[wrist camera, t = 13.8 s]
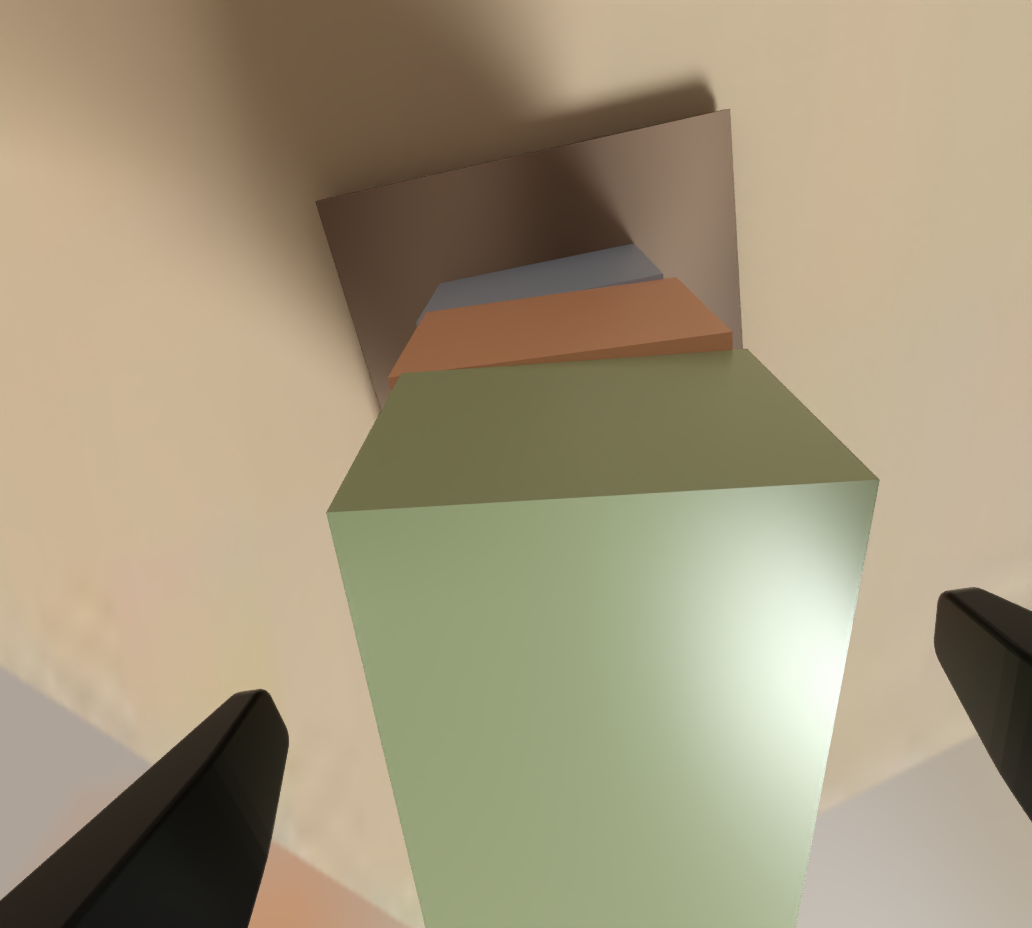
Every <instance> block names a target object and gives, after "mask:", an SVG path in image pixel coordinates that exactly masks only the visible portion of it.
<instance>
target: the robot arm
mask: <svg viewBox="0 0 1032 928" xmlns="http://www.w3.org/2000/svg"><path fill="white" fill-rule="evenodd" d="M934 647H935V652H936V655H937V658H938V660H939V662H940V664H941V666H942V668H943V670H944V671H945V673H946V675H947V677H948V679H949V681H950V683H951V685H952V686H953V688H954V690H955V692H956V694H957V696H958V698H959V700H960V701H961V703H962V705H963V707H964V709H965V711H966V713H967V714H968V716H969V718H970V720H971V722H972V724H973V726H974V728H975V729H976V731H977V733H978V735H979V737H980V739H981V741H982V743H983V744H984V746H985V748H986V750H987V752H988V754H989V756H990V757H991V759H992V761H993V762H994V764H995V766H996V768H997V770H998V771H999V773H1000V775H1001V776H1002V778H1003V779H1004V781H1005V782H1006V784H1007V786H1008V787H1009V789H1010V790H1011V792H1012V793H1013V795H1014V796H1015V798H1016V799H1017V801H1018V802H1019V804H1020V805H1021V807H1022V808H1023V810H1024V811H1025V813H1026V814H1027V815H1028V817H1029V819H1030V820H1031V821H1032V611H1030V610H1028V609H1026V608H1024V607H1021V606H1019V605H1017V604H1015V603H1012V602H1010V601H1008V600H1006V599H1003V598H1001V597H999V596H997V595H994V594H992V593H990V592H988V591H986V590H983V589H980V588H976V587H970V588H963V589H956V590H949V591H945V592H943V593H942V594H941V595H940V596H939V598H938V603H937V613H936V623H935V634H934ZM288 747H289V735H288V731H287V728H286V725H285V723H284V721H283V719H282V717H281V715H280V713H279V711H278V709H277V707H276V705H275V703H274V701H273V699H272V697H271V695H270V694H269V693H268V692H267V691H266V690H263V689H256V690H249V691H242V692H238V693H236V694H234V695H233V696H231V697H230V698H229V699H228V700H227V701H226V702H224V703H223V704H222V705H221V706H220V707H219V708H218V709H216V710H215V711H214V712H213V713H212V714H211V715H210V716H209V717H207V718H206V719H205V720H204V721H203V722H202V723H201V724H199V725H198V726H197V727H196V728H195V729H194V730H193V731H192V732H190V733H189V734H188V735H187V736H186V737H185V738H184V739H183V740H181V741H180V742H179V743H178V744H177V745H176V746H175V747H173V748H172V749H171V750H170V751H169V752H168V753H167V754H166V755H164V756H163V757H162V758H161V759H160V760H159V761H158V762H157V763H155V764H154V765H153V766H152V767H151V768H150V769H149V770H147V771H146V772H145V773H144V774H143V775H142V776H141V777H140V778H138V779H137V780H136V781H135V782H134V783H133V784H132V785H130V786H129V787H128V788H127V789H126V790H125V791H124V792H123V793H121V794H120V795H119V796H118V797H117V798H116V799H115V800H114V801H112V802H111V803H110V804H109V805H108V806H107V807H106V808H104V809H103V810H102V811H101V812H100V813H99V814H98V815H97V816H96V817H94V818H93V819H92V820H91V821H90V822H89V823H87V824H86V825H85V826H84V827H83V828H82V829H81V830H80V831H78V832H77V833H76V834H75V835H74V836H73V837H72V838H70V839H69V840H68V841H67V842H66V843H65V844H64V845H63V846H61V847H60V848H59V849H58V850H57V851H56V852H55V853H54V854H52V855H51V856H50V857H49V858H48V859H47V860H46V861H44V862H43V863H42V864H41V865H40V866H39V867H38V868H37V869H36V870H34V871H33V872H32V873H31V874H30V875H29V876H27V877H26V878H25V879H24V880H23V881H22V882H21V883H20V884H18V885H17V886H16V887H15V888H14V889H13V890H12V891H10V892H9V893H8V894H7V895H6V896H5V897H4V898H3V899H1V900H0V928H248V925H249V922H250V918H251V915H252V911H253V908H254V904H255V901H256V897H257V894H258V890H259V887H260V884H261V880H262V877H263V873H264V869H265V865H266V861H267V858H268V853H269V849H270V844H271V839H272V834H273V829H274V823H275V818H276V813H277V807H278V802H279V796H280V791H281V786H282V780H283V775H284V769H285V764H286V759H287V753H288Z"/></svg>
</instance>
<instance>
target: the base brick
mask: <svg viewBox="0 0 1032 928" xmlns="http://www.w3.org/2000/svg"><path fill="white" fill-rule="evenodd" d="M659 279H664V277H663V273H662V272H661V271H660V270H659V269H658V268H657V267H656V266H655V265H654V263H653V262H652V261H651V260H650V259H649V258H648V257H647V256H646V255H645V254H644V253H643V252H642V251H641V250H640V249H639V248H638V247H637V246H636V245H635V244H634V243H633V244H628V245H623V246H619V247H614V248H609V249H604V250H599V251H594V252H589V253H585V254H580V255H575V256H570V257H565V258H560V259H555V260H551V261H546V262H541V263H536V264H531V265H526V266H521V267H516V268H512V269H507V270H502V271H497V272H492V273H487V274H482V275H478V276H473V277H468V278H463V279H458V280H453V281H448V282H444V283H440V284H439V286H438V287H437V289H436V291H435V292H434V294H433V296H432V297H431V299H430V301H429V302H428V304H427V305H426V307H425V309H424V310H423V312H422V314H421V315H420V317H419V319H418V320H417V322H416V325H417V326H418V325H419V323H420V321H421V320H422V318H423V316H424V314H425V313H426V312H430V311H438V310H445V309H452V308H459V307H466V306H473V305H480V304H488V303H495V302H502V301H509V300H516V299H523V298H530V297H538V296H545V295H552V294H559V293H566V292H573V291H580V290H588V289H595V288H602V287H609V286H616V285H623V284H630V283H638V282H645V281H652V280H659Z"/></svg>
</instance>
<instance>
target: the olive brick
mask: <svg viewBox="0 0 1032 928" xmlns="http://www.w3.org/2000/svg"><path fill="white" fill-rule="evenodd" d="M878 485H879V479H878V478H877V477H876V476H875V475H874V474H873V473H872V472H871V471H870V470H869V469H868V468H867V467H866V466H865V465H864V464H863V463H862V462H861V461H860V460H859V459H858V458H857V457H856V456H855V455H854V454H853V453H852V452H851V451H850V450H849V449H848V448H847V447H846V446H845V445H844V444H843V443H842V442H841V441H840V440H839V439H838V438H837V437H836V436H835V435H834V434H833V433H832V432H831V431H830V430H829V429H828V428H827V427H826V426H825V425H824V424H823V423H822V422H821V421H820V420H819V419H818V418H817V417H816V416H815V415H814V414H812V413H811V412H810V411H809V410H808V409H807V408H806V407H805V406H804V405H803V404H802V403H801V402H800V401H799V400H798V399H797V398H796V397H795V396H794V395H793V394H792V393H791V392H790V391H789V390H788V389H787V388H786V387H785V386H784V385H783V384H782V383H781V382H780V381H779V380H778V379H777V378H776V377H775V376H774V375H773V374H772V373H771V372H770V371H769V370H768V369H767V368H766V367H765V366H764V365H763V364H762V363H761V362H760V361H759V360H758V359H757V358H756V357H755V356H754V355H753V354H752V353H751V352H750V351H749V350H748V349H738V350H724V351H709V352H695V353H681V354H667V355H652V356H638V357H624V358H610V359H595V360H581V361H567V362H553V363H538V364H524V365H510V366H495V367H481V368H467V369H453V370H438V371H424V372H410V373H401V375H400V376H399V378H398V380H397V382H396V384H395V386H394V388H393V389H392V391H391V393H390V395H389V397H388V399H387V401H386V402H385V404H384V406H383V408H382V410H381V412H380V414H379V415H378V417H377V419H376V421H375V423H374V425H373V427H372V429H371V430H370V432H369V434H368V436H367V438H366V440H365V442H364V443H363V445H362V447H361V449H360V451H359V453H358V455H357V456H356V458H355V460H354V462H353V464H352V466H351V468H350V469H349V471H348V473H347V475H346V477H345V479H344V481H343V483H342V484H341V486H340V488H339V490H338V492H337V494H336V496H335V497H334V499H333V501H332V503H331V505H330V507H329V509H328V510H327V512H326V513H327V517H328V522H329V526H330V530H331V534H332V538H333V543H334V547H335V551H336V555H337V559H338V563H339V568H340V572H341V576H342V580H343V584H344V589H345V593H346V597H347V601H348V605H349V609H350V614H351V618H352V622H353V626H354V630H355V635H356V639H357V643H358V647H359V651H360V655H361V660H362V664H363V668H364V672H365V676H366V681H367V685H368V689H369V693H370V697H371V701H372V706H373V710H374V714H375V718H376V722H377V727H378V731H379V735H380V739H381V743H382V747H383V752H384V756H385V760H386V764H387V768H388V773H389V777H390V781H391V785H392V789H393V793H394V798H395V802H396V806H397V810H398V814H399V819H400V823H401V827H402V831H403V835H404V839H405V844H406V848H407V852H408V856H409V860H410V865H411V869H412V873H413V877H414V881H415V885H416V890H417V894H418V898H419V902H420V906H421V911H422V915H423V919H424V923H425V927H426V928H796V924H797V918H798V913H799V908H800V902H801V897H802V891H803V886H804V881H805V876H806V870H807V865H808V859H809V854H810V848H811V843H812V838H813V832H814V827H815V822H816V817H817V811H818V806H819V801H820V795H821V790H822V785H823V779H824V774H825V769H826V763H827V758H828V753H829V747H830V742H831V737H832V731H833V726H834V721H835V715H836V710H837V705H838V699H839V694H840V689H841V683H842V678H843V672H844V667H845V662H846V656H847V651H848V646H849V640H850V635H851V630H852V624H853V619H854V614H855V608H856V603H857V598H858V592H859V587H860V582H861V576H862V571H863V566H864V560H865V555H866V550H867V544H868V539H869V534H870V528H871V523H872V518H873V512H874V507H875V502H876V496H877V491H878Z"/></svg>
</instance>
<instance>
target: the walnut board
mask: <svg viewBox="0 0 1032 928" xmlns="http://www.w3.org/2000/svg"><path fill="white" fill-rule="evenodd" d="M316 205H317V208H318V211H319V215H320V218H321V221H322V224H323V227H324V230H325V234H326V237H327V240H328V243H329V246H330V249H331V253H332V256H333V259H334V262H335V265H336V269H337V272H338V275H339V278H340V281H341V284H342V288H343V291H344V294H345V297H346V300H347V303H348V307H349V310H350V313H351V316H352V319H353V322H354V326H355V329H356V332H357V335H358V338H359V342H360V345H361V348H362V351H363V354H364V357H365V361H366V364H367V367H368V370H369V373H370V376H371V380H372V383H373V386H374V389H375V392H376V395H377V399H378V402H379V405H380V408H381V410H382V408H383V406H384V404H385V402H386V401H387V399H388V397H389V395H390V393H391V389H390V385H389V381H388V376H389V374H390V373H391V371H392V369H393V368H394V366H395V364H396V362H397V361H398V359H399V357H400V356H401V354H402V352H403V350H404V349H405V347H406V345H407V344H408V342H409V340H410V338H411V337H412V335H413V333H414V332H415V330H416V328H417V325H416V322H417V320H418V319H419V317H420V315H421V314H422V312H423V310H424V309H425V307H426V305H427V304H428V302H429V301H430V299H431V297H432V296H433V294H434V292H435V291H436V289H437V287H438V286H439V284H440V283H444V282H448V281H453V280H458V279H463V278H468V277H473V276H478V275H482V274H487V273H492V272H497V271H502V270H507V269H512V268H516V267H521V266H526V265H531V264H536V263H541V262H546V261H551V260H555V259H560V258H565V257H570V256H575V255H580V254H585V253H589V252H594V251H599V250H604V249H609V248H614V247H619V246H623V245H628V244H633V243H634V244H635V245H636V246H637V247H638V248H639V249H640V250H641V251H642V252H643V253H644V254H645V255H646V256H647V257H648V258H649V259H650V260H651V261H652V262H653V263H654V265H655V266H656V267H657V268H658V269H659V270H660V271H661V272H662V273H663V277H664V279H666V278H673V277H677V278H678V279H679V280H680V281H681V282H682V283H683V284H684V285H685V286H686V287H687V288H688V289H689V290H690V291H691V292H692V293H693V294H694V295H695V296H696V297H697V298H698V299H699V300H700V301H701V302H702V303H703V304H705V305H706V306H707V307H708V308H709V309H710V310H711V311H712V312H713V313H714V314H715V315H716V316H717V317H718V318H719V319H720V320H721V321H722V322H723V323H724V324H725V325H726V326H727V327H728V328H729V329H730V330H731V331H732V332H733V350H738V349H743V345H742V326H741V307H740V288H739V269H738V251H737V232H736V213H735V194H734V175H733V157H732V138H731V119H730V109H725V110H720V111H715V112H711V113H707V114H702V115H698V116H693V117H689V118H684V119H680V120H675V121H671V122H666V123H662V124H657V125H653V126H649V127H644V128H640V129H635V130H631V131H626V132H622V133H617V134H613V135H608V136H604V137H599V138H595V139H590V140H586V141H582V142H577V143H573V144H568V145H564V146H559V147H555V148H550V149H546V150H541V151H537V152H532V153H528V154H523V155H519V156H515V157H510V158H506V159H501V160H497V161H492V162H488V163H483V164H479V165H474V166H470V167H465V168H461V169H456V170H452V171H448V172H443V173H439V174H434V175H430V176H425V177H421V178H416V179H412V180H407V181H403V182H398V183H394V184H389V185H385V186H381V187H376V188H372V189H367V190H363V191H358V192H354V193H349V194H345V195H340V196H336V197H331V198H327V199H323V200H319V201H316Z"/></svg>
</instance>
